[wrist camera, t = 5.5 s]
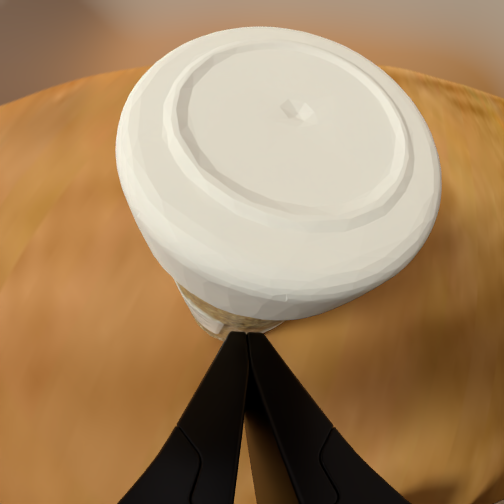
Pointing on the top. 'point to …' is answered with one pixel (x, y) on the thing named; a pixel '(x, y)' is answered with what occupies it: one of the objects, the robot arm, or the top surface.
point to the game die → (500, 502)
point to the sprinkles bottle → (275, 175)
